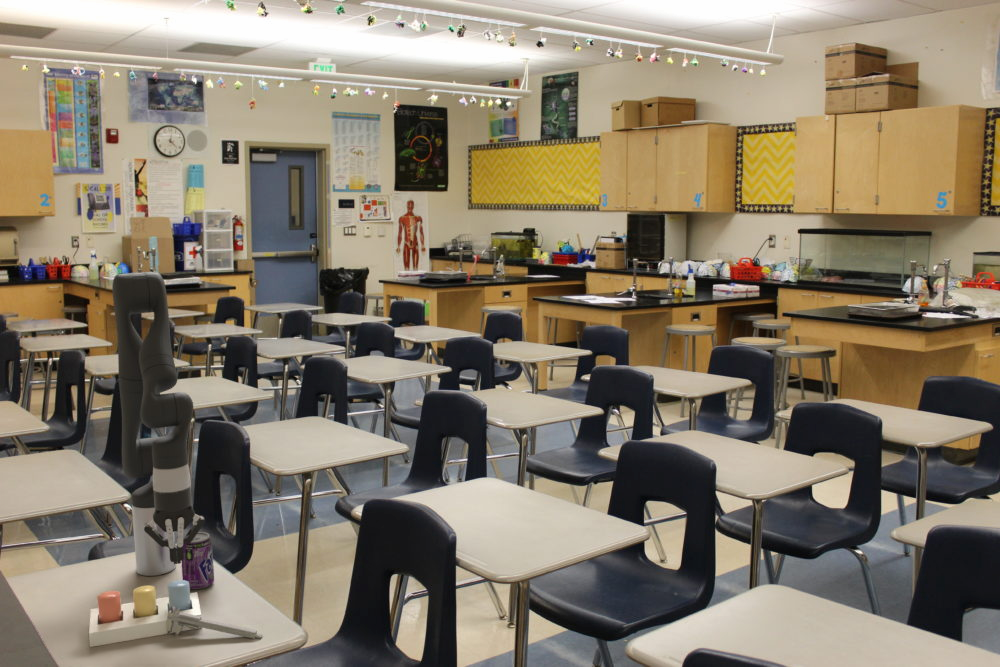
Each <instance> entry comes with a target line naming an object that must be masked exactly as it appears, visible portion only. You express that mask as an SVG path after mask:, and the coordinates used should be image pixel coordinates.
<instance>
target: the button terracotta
mask: <svg viewBox="0 0 1000 667" xmlns="http://www.w3.org/2000/svg"><path fill="white" fill-rule="evenodd" d="M121 604H122V601H121V593H120V592H119V591H117V590H109V591H104V592H101V593H100V594H98V595H97V608H98V610H99V622H100V624H105V623H111V622H117V621H122V614H121Z"/></svg>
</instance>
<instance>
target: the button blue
mask: <svg viewBox="0 0 1000 667" xmlns="http://www.w3.org/2000/svg"><path fill="white" fill-rule="evenodd" d="M167 591H168V592H167V594H168V596H167V597H169V611H170V610H172V607H173V606H175V608H176V610H177V609H178V608H179V607H180V610H179V611H183V610H189V609H191V604H190V593H191V592H190V591H191V589H190V588H189V582H188V581H185V580H183V579H182V580H181V579H180V580H175V581H172V582H170V583H168V585H167Z"/></svg>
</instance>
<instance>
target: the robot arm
mask: <svg viewBox="0 0 1000 667" xmlns="http://www.w3.org/2000/svg"><path fill="white" fill-rule="evenodd" d="M112 281H113V282H112V288H111V290H112V301H113V310H114V317H115V318H114V319H115V326H116V327H115V328H116V334H117V335H116V336H117V351H118V352H117V353H118V354H117V357H118V358H117V359H118V362H117V363H118V388H119V396H120V397H119V398H120V407H121V409H120V410H121V464H122V470H123V472H124V475H125V477H127V478H129V479H137V478H138V479H139V478H144V477H152V480H151V481H150V482H148V483H147V484H145V485H142V486H141V487H139V488H137V489H135V490H134V491H133V492H132V493H131V496H130V497H131V510H132V511H131V512H132V523H133V524H132V525H133V536H134V538H133V539H134V550H135V554H134V555H135V565H136V566H135V568H136V573H137V574H139V575H141V576H147V577H149V576H150V577H151V576H154V577H155V576H161V575H165V574H168V573H170V572H172V571H173V570H174V569H176V567H177V565H178V564H182V560H183V559H184V550H183V547H184V545H185V544H187V543H191V541H192V540H193V539H194V537H195V536H196V534H197V533H198V532H200V530H201V529H202V528H203V526H204V524H205V523H206V520H205V517H204V516H203V515H199V514H196V513H195V509H194V508H193V506H192V505H193V504H192V503H193V501H192V489H191V488H192V487H191V486H192V485H191V482H192V480H191V472H190V468H189V459H188V458H189V456H188V439H189V438H188V437H189V431H190V427H191V423H192V418H193V414H194V402H193V399H192V398H191V396H190V395H189V394H187V392H181V391H179V392H178V391H177V392H170V393H164V392H167V391H169V390H171V389H173V388H174V387H175V386H176V385H177V383H178V372H177V368H176V364H175V359H174V355H173V350H172V343H171V330H170V329H171V327H170V317H169V316H170V315H169V306H168V304H169V303H168V297H167V289H166V284H165V281H164V278H163V277H162V275H161V274H160V273H159V272H154V271H151V272H150V271H146V272H130V273H129V272H128V273H127V272H126V273H120V274H119V273H118V274H117V275H115V276H114V278H113V280H112ZM147 313H149V314H150V313H151V314H152V313H153V321H152V324H151V326H150V327H149V328H150V329H149V331H148V332H147V334H146V336H145V338H144V339H142V338H141V336H140V335H139V333H138V332H137V330H136V328H135V327H134V325H133V323H132V320H131V315H135V314H136V315H137V314H147ZM142 424H143V425H144V426H145V427H147V428H148V429H150V430H151V429H160V428H161V429H162V428H171V427H174V428H173V430H172V431H171V432H170V433H168V434H166V435H163V436H153V437H152V436H151V437H146V438H145V437H143V438H139V439H138V436H139V432H140V428H141V426H142ZM191 522H192V526H191V527H190V529H188V532H186V534H185V535H186V536H185V535H184V531H185V530H186V529H187V528H188V526H189V525H190V523H191ZM175 532H176V540H175ZM175 541H176V542H175Z"/></svg>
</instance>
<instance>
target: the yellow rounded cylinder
mask: <svg viewBox="0 0 1000 667" xmlns="http://www.w3.org/2000/svg"><path fill="white" fill-rule="evenodd" d="M132 594H133V602H134V611H135V618H141V617H147V616H153V615H157V609H156V599H157V598H156V596H157V595H156V587H155V586H154V585H141V586H138V587H135V588H134V589H133V591H132Z"/></svg>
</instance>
